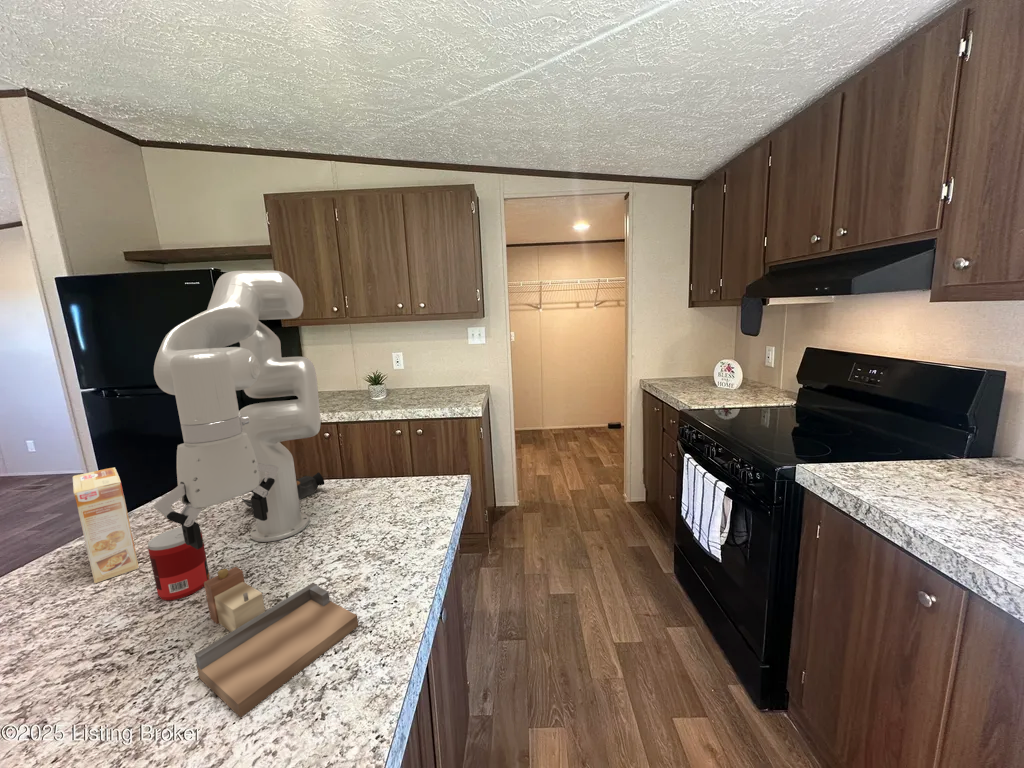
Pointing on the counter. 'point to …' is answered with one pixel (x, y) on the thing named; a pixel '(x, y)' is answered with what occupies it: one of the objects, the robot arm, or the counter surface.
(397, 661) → the counter surface
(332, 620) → the board
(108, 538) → the coffeecake box
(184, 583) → the canned food
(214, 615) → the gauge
